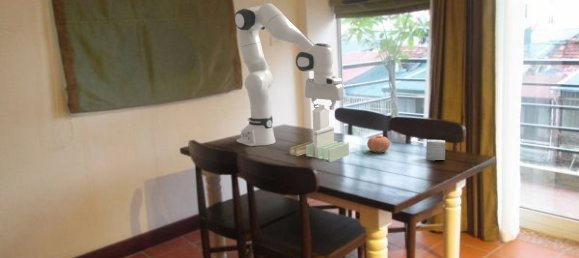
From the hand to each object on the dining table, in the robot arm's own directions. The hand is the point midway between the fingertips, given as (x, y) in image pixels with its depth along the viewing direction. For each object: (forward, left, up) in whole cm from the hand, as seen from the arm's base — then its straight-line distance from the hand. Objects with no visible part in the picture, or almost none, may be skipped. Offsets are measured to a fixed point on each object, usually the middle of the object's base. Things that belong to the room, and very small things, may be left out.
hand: (323, 108), depth 221 cm
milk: (-12, +13, -23) cm, 29 cm away
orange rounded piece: (+17, +21, -23) cm, 35 cm away
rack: (+2, 0, -23) cm, 23 cm away
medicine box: (+45, +24, -23) cm, 56 cm away
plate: (0, 0, -22) cm, 22 cm away
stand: (-11, -2, -23) cm, 26 cm away
